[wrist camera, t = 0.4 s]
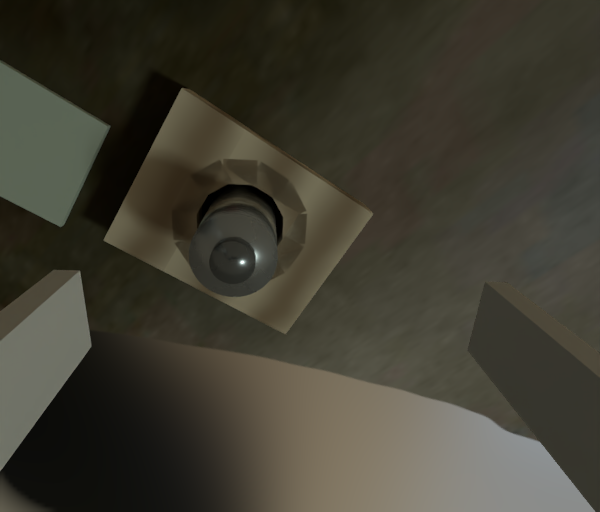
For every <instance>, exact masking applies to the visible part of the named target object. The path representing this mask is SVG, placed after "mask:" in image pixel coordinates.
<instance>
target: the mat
mask: <svg viewBox="0 0 600 512" xmlns="http://www.w3.org/2000/svg"><path fill="white" fill-rule="evenodd" d="M110 127H111V126H110V125H108V124H107V123H105V122H103V121H102V120H100V119H98V118H97V117H95V116H93V115H92V114H90V113H88V112H87V111H85V110H83V109H82V108H80V107H78V106H77V105H75V104H73V103H72V102H70V101H68V100H66V99H65V98H63V97H61V96H60V95H58V94H56V93H55V92H53V91H51V90H50V89H48V88H46V87H45V86H43V85H41V84H40V83H38V82H36V81H35V80H33V79H31V78H30V77H28V76H26V75H25V74H23V73H21V72H20V71H18V70H16V69H15V68H13V67H11V66H10V65H8V64H6V63H5V62H3V61H1V60H0V196H1V197H3V198H5V199H7V200H9V201H11V202H13V203H15V204H17V205H19V206H21V207H23V208H25V209H27V210H28V211H30V212H32V213H34V214H36V215H38V216H40V217H42V218H44V219H46V220H48V221H50V222H52V223H54V224H56V225H58V226H60V227H61V226H63V225H64V224H65V222H66V220H67V218H68V215H69V213H70V211H71V209H72V207H73V205H74V203H75V201H76V199H77V196H78V194H79V192H80V190H81V188H82V186H83V184H84V182H85V179H86V177H87V175H88V173H89V171H90V169H91V167H92V165H93V163H94V160H95V158H96V156H97V154H98V152H99V150H100V148H101V146H102V144H103V141H104V139H105V137H106V135H107V133H108V131H109V129H110Z"/></svg>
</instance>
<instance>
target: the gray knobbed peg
mask: <svg viewBox="0 0 600 512" xmlns="http://www.w3.org/2000/svg"><path fill="white" fill-rule="evenodd" d="M277 261H278V252H277V236H276V220H275V210H274V207H273V204H272V202H271V201H270V199H269V198H268V197H267V195H266V194H265V193H263V192H262V191H261V190H259V189H257V188H256V187H253V186H250V185H240V184H239V185H233V186H229V187H227V188H225V189H224V190H222V191H221V192H219V193H218V194H217V196H216V197H215V198H214V200H213V201H212V203H211V205H210V207H209V209H208V211H207V212H206V214H205V216H204V218H203V220H202V221H201V223H200V225H199V227H198V229H197V231H196V232H195V234H194V236H193V238H192V240H191V243H190V246H189V263H190V267H191V269H192V272H193V274H194V275H195V277H196V278H197V280H198V281H199V282H200V283H201V284H202V285H203V286H204V287H206V288H207V289H209V290H210V291H212V292H214V293H216V294H219V295H222V296H227V297H241V296H246V295H250V294H252V293H255V292H257V291H258V290H260V289H261V288H263V287H264V286H265V285H266V284H267V283H268V282H269V281H270V279H271V278H272V276H273V275H274V273H275V270H276V267H277Z"/></svg>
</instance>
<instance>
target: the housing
mask: <svg viewBox="0 0 600 512" xmlns="http://www.w3.org/2000/svg"><path fill="white" fill-rule="evenodd" d="M227 184H240V185H253V186H255V187H256V188H258V189H260V190H261V191H263V192H264V193H266V194H268V195H269V196H271V197H273V199H274V201H275V203H276V205H277V207H278V208H279V210H280V212H281V214H282V225H281V230H280V231H279V233H278V234H277V252H278V261H277V267H276V270H275V273H274V275H273V276H272V278H271V279H270V281H269V282H268V283H267V284H266V285H265V286H264V287H263V288H261V289H260V290H258V291H257V292H255V293H252V294H250V295H246V296H241V297H227V296H222V295H219V294H216V293H214V292H212V291H210V290H209V289H207V288H206V287H204V286H203V285H202V284H201V283H200V282H199V281H198V280H197V278H196V277H195V275H194V274H193V272H192V269H191V267H190V263H189V246H190V243H191V240H192V238H193V236H194V234H195V232H196V231H197V229H198V227H199V225H200V223H201V221H202V220H203V217H202V205H203V203H204V201H205V199H206V198H207V196H208V195H209V194H210V193H212V192H214V191H216V190H218V189H220V188H222V187H224V186H226V185H227ZM372 215H373V213H372V212H371V211H370V210H369V209H368V207H367V206H366V205H364V204H363V203H361V202H360V201H358V200H357V199H355V198H354V197H352V196H351V195H349V194H348V193H346V192H345V191H343V190H342V189H340V188H339V187H337V186H336V185H334V184H333V183H331V182H330V181H328V180H327V179H325V178H324V177H322V176H320V175H319V174H317V173H316V172H314V171H313V170H311V169H310V168H308V167H307V166H305V165H304V164H302V163H301V162H299V161H298V160H296V159H295V158H293V157H292V156H290V155H289V154H287V153H286V152H284V151H283V150H281V149H280V148H278V147H277V146H275V145H274V144H272V143H270V142H269V141H267V140H266V139H264V138H263V137H261V136H260V135H258V134H257V133H255V132H254V131H252V130H251V129H249V128H248V127H246V126H245V125H243V124H242V123H240V122H239V121H237V120H236V119H234V118H233V117H231V116H230V115H228V114H227V113H225V112H224V111H222V110H221V109H219V108H217V107H216V106H214V105H213V104H211V103H210V102H208V101H207V100H205V99H204V98H202V97H201V96H199V95H198V94H196V93H195V92H193V91H192V90H190V89H186V88H181V90H180V92H179V94H178V96H177V98H176V100H175V102H174V104H173V106H172V108H171V110H170V112H169V114H168V116H167V118H166V120H165V121H164V123H163V125H162V127H161V129H160V131H159V133H158V135H157V137H156V139H155V141H154V143H153V145H152V147H151V149H150V151H149V153H148V155H147V157H146V158H145V160H144V162H143V164H142V166H141V168H140V170H139V172H138V174H137V176H136V178H135V180H134V182H133V184H132V186H131V188H130V190H129V192H128V194H127V195H126V197H125V199H124V201H123V203H122V205H121V207H120V209H119V211H118V213H117V215H116V217H115V219H114V221H113V223H112V225H111V227H110V229H109V231H108V232H107V234H106V236H105V238H104V241H105V242H107V243H109V244H111V245H113V246H115V247H117V248H119V249H121V250H123V251H125V252H127V253H129V254H131V255H133V256H135V257H137V258H138V259H140V260H142V261H144V262H146V263H148V264H150V265H152V266H154V267H156V268H158V269H160V270H162V271H164V272H166V273H168V274H169V275H171V276H173V277H175V278H177V279H179V280H181V281H183V282H185V283H187V284H189V285H191V286H193V287H195V288H197V289H199V290H200V291H202V292H204V293H206V294H208V295H210V296H212V297H214V298H216V299H218V300H220V301H222V302H224V303H226V304H228V305H230V306H231V307H233V308H235V309H237V310H239V311H241V312H243V313H245V314H247V315H249V316H251V317H253V318H255V319H257V320H259V321H261V322H263V323H264V324H266V325H268V326H270V327H272V328H274V329H276V330H278V331H280V332H282V333H284V334H286V333H287V332H288V330H289V329H290V328H291V326H292V325H293V323H294V322H295V321H296V319H297V318H298V317H299V315H300V314H301V312H302V311H303V310H304V308H305V307H306V306H307V304H308V303H309V302H310V300H311V299H312V297H313V296H314V295H315V293H316V292H317V291H318V289H319V288H320V286H321V285H322V284H323V282H324V281H325V280H326V278H327V277H328V275H329V274H330V273H331V271H332V270H333V269H334V267H335V266H336V265H337V263H338V262H339V260H340V259H341V258H342V256H343V255H344V254H345V252H346V251H347V249H348V248H349V247H350V245H351V244H352V243H353V241H354V240H355V238H356V237H357V236H358V234H359V233H360V232H361V230H362V229H363V228H364V226H365V225H366V223H367V222H368V221H369V219H370V218H371V217H372Z"/></svg>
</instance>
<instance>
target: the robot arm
mask: <svg viewBox="0 0 600 512" xmlns="http://www.w3.org/2000/svg"><path fill="white" fill-rule="evenodd" d="M90 348H91V340H90V333H89V327H88V320H87V314H86V307H85V301H84V294H83V288H82V282H81V275H80V271H74V270H53V271H52V272H50V273H49V274H48V275H47V276H45V277H44V278H43V279H41V280H40V281H39V282H38V283H36V284H35V285H34V286H32V287H31V288H30V289H29V290H27V291H26V292H25V293H23V294H22V295H21V296H20V297H18V298H17V299H16V300H14V301H13V302H12V303H11V304H9V305H8V306H7V307H5V308H4V309H3V310H2V311H0V471H1V469H2V468H3V467H4V465H5V464H6V462H7V461H8V460H9V458H10V457H11V456H12V454H13V453H14V452H15V450H16V448H17V447H18V446H19V445H20V443H21V442H22V440H23V439H24V438H25V437H26V435H27V434H28V432H29V431H30V430H31V428H32V427H33V426H34V424H35V423H36V421H37V420H38V419H39V417H40V416H41V414H42V413H43V412H44V411H45V409H46V408H47V406H48V405H49V404H50V402H51V401H52V399H53V398H54V397H55V395H56V394H57V393H58V391H59V390H60V389H61V387H62V386H63V385H64V383H65V382H66V380H67V379H68V378H69V376H70V375H71V373H72V372H73V371H74V369H75V368H76V367H77V365H78V364H79V363H80V361H81V360H82V359H83V357H84V356H85V354H86V353H87V352H88V350H89V349H90ZM468 352H469V353H470V354H471V355H472V357H473V358H474V359H475V360H476V362H477V363H478V364H479V365H480V367H481V368H482V369H483V370H484V372H485V373H486V374H487V376H488V377H489V378H490V379H491V381H492V382H493V383H494V384H495V386H496V387H497V388H498V389H499V391H500V392H501V393H502V394H503V396H504V397H505V398H506V399H507V401H508V402H509V403H510V405H511V406H512V407H513V408H514V410H515V411H516V412H517V413H518V415H519V416H520V417H521V418H522V420H523V421H524V422H525V423H526V425H527V426H528V427H529V428H530V430H531V431H532V432H533V433H534V435H535V436H536V437H537V439H538V440H539V441H540V442H541V444H542V445H543V446H544V447H545V449H546V450H547V451H548V452H549V454H550V455H551V456H552V457H553V459H554V460H555V461H556V462H557V464H558V465H559V466H560V468H561V469H562V470H563V471H564V472H565V474H566V475H567V476H568V477H569V479H570V480H571V481H572V483H573V484H574V485H575V486H576V488H577V489H578V490H579V491H580V493H581V494H582V495H583V497H584V498H585V499H586V500H587V502H588V503H589V504H590V505H591V507H592V508H593V509H594V510H595V512H600V353H599V352H597V351H596V350H595V349H593V348H592V347H591V346H589V345H588V344H587V343H586V342H584V341H583V340H582V339H580V338H579V337H578V336H576V335H575V334H574V333H572V332H571V331H570V330H569V329H567V328H566V327H565V326H563V325H562V324H561V323H559V322H558V321H557V320H555V319H554V318H553V317H551V316H550V315H549V314H548V313H546V312H545V311H544V310H542V309H541V308H540V307H538V306H537V305H536V304H534V303H533V302H532V301H531V300H529V299H528V298H527V297H525V296H524V295H523V294H521V293H520V292H519V291H517V290H516V289H515V288H514V287H512V286H511V285H510V284H508V283H507V282H485V284H484V288H483V292H482V296H481V300H480V304H479V307H478V311H477V315H476V319H475V323H474V327H473V331H472V335H471V339H470V343H469V346H468Z"/></svg>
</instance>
